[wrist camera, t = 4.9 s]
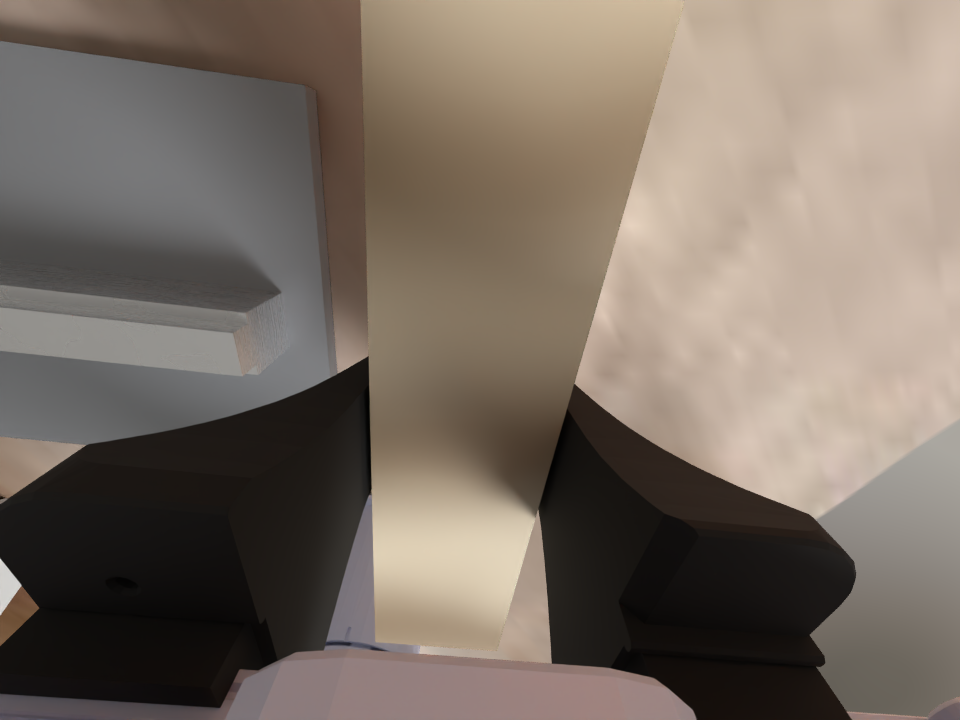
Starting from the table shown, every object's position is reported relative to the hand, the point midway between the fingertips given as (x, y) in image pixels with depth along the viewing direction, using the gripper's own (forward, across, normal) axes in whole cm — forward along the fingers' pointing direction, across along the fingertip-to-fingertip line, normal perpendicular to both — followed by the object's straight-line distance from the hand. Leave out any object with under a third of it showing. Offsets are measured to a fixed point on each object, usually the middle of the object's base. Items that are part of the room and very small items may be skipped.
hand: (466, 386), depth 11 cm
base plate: (+9, +18, +2) cm, 20 cm away
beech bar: (+2, 0, 0) cm, 2 cm away
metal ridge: (+9, +18, +2) cm, 20 cm away
